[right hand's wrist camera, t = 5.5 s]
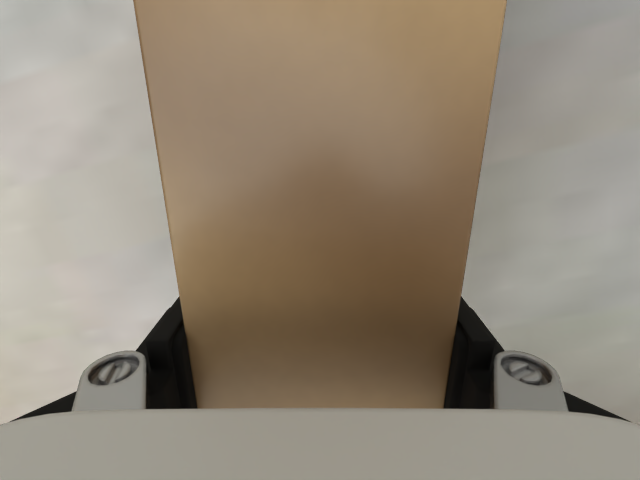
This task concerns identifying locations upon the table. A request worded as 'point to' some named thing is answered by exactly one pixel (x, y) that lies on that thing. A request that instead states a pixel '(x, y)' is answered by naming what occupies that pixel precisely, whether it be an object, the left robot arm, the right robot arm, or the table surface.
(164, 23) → the tan elongated box
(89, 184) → the table surface
